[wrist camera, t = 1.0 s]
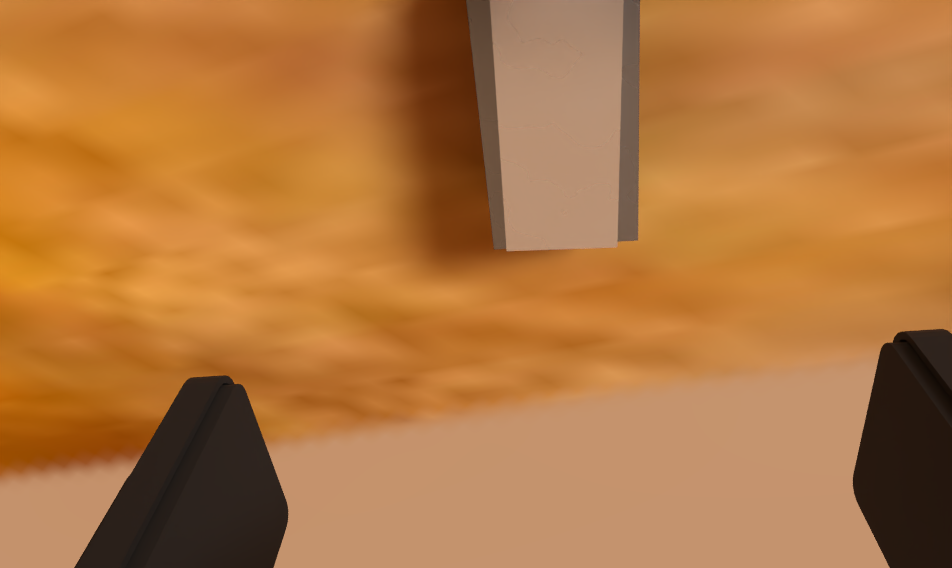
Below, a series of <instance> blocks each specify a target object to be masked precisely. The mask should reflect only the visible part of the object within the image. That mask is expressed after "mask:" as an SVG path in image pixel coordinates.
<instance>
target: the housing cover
mask: <svg viewBox="0 0 952 568" xmlns="http://www.w3.org/2000/svg"><path fill="white" fill-rule="evenodd" d="M623 4H624V0H490V10H491V25H492V40H493V55H494V70H495V85H496V100H497V115H498V130H499V145H500V160H501V175H502V190H503V204H504V219H505V234H506V249H507V251H529V250H557V249H585V248H613V247H617V240H618V201H619V161H620V122H621V83H622V44H623Z"/></svg>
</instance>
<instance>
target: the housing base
mask: <svg viewBox="0 0 952 568" xmlns="http://www.w3.org/2000/svg"><path fill="white" fill-rule="evenodd" d="M466 4H467V12H468V21H469V30H470V39H471V48H472V57H473V66H474V75H475V84H476V93H477V102H478V111H479V120H480V129H481V138H482V147H483V156H484V165H485V173H486V182H487V191H488V200H489V209H490V218H491V227H492V236H493V245H494V250H495V249H506V234H505V219H504V204H503V190H502V175H501V160H500V145H499V130H498V115H497V100H496V85H495V70H494V55H493V40H492V25H491V10H490V0H466ZM639 37H640V0H624V4H623V44H622V83H621V122H620V161H619V201H618V240H617V242H618V241H634V240H638V171H639Z"/></svg>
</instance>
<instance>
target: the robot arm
mask: <svg viewBox="0 0 952 568" xmlns="http://www.w3.org/2000/svg"><path fill="white" fill-rule="evenodd" d="M853 489H854V494H855V497H856V500H857V502H858V505H859V507H860V509H861V511H862V513H863V515H864V517H865V519H866V521H867V523H868V525H869V527H870V529H871V531H872V533H873V535H874V537H875V539H876V541H877V543H878V545H879V547H880V549H881V551H882V553H883V555H884V557H885V559H886V561H887V563H888V565H889V567H890V568H952V334H951V333H950V332H949V331H947V330H944V329H936V330H920V331H905V332H900V333H898V334H897V335H896V336H895V337H894V340H893V343H886V344H884V345H883V346H882V348H881V351H880V355H879V360H878V365H877V369H876V374H875V378H874V383H873V388H872V392H871V397H870V402H869V406H868V410H867V415H866V420H865V424H864V429H863V433H862V438H861V442H860V447H859V452H858V456H857V461H856V465H855V470H854V475H853ZM287 522H288V506H287V502H286V499H285V496H284V493H283V491H282V488H281V485H280V483H279V480H278V477H277V475H276V472H275V469H274V466H273V464H272V461H271V458H270V456H269V453H268V450H267V447H266V445H265V442H264V439H263V437H262V434H261V431H260V428H259V426H258V423H257V420H256V418H255V415H254V412H253V410H252V407H251V404H250V401H249V399H248V396H247V393H246V391H245V389H244V387H243V386H242V385H240V384H234V382H233V380H232V379H231V378H230V377H229V376H209V377H194V378H190V379H188V380H187V381H186V382H185V383H184V385H183V386H182V388H181V390H180V391H179V393H178V395H177V397H176V398H175V400H174V402H173V403H172V405H171V407H170V408H169V410H168V412H167V413H166V415H165V417H164V419H163V420H162V422H161V424H160V425H159V427H158V429H157V430H156V432H155V434H154V436H153V437H152V439H151V441H150V442H149V444H148V446H147V447H146V449H145V451H144V453H143V454H142V456H141V458H140V459H139V461H138V463H137V464H136V466H135V468H134V470H133V471H132V473H131V474H130V476H129V477H128V478H127V479H126V481H125V483H124V485H123V486H122V488H121V490H120V491H119V493H118V495H117V496H116V498H115V500H114V502H113V503H112V505H111V507H110V508H109V510H108V512H107V513H106V515H105V517H104V518H103V520H102V522H101V523H100V525H99V527H98V529H97V530H96V532H95V534H94V535H93V537H92V539H91V540H90V542H89V544H88V546H87V547H86V549H85V551H84V552H83V554H82V556H81V557H80V559H79V561H78V562H77V564H76V566H75V567H74V568H273V567H274V564H275V561H276V558H277V554H278V551H279V548H280V546H281V542H282V539H283V536H284V533H285V530H286V527H287Z"/></svg>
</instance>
